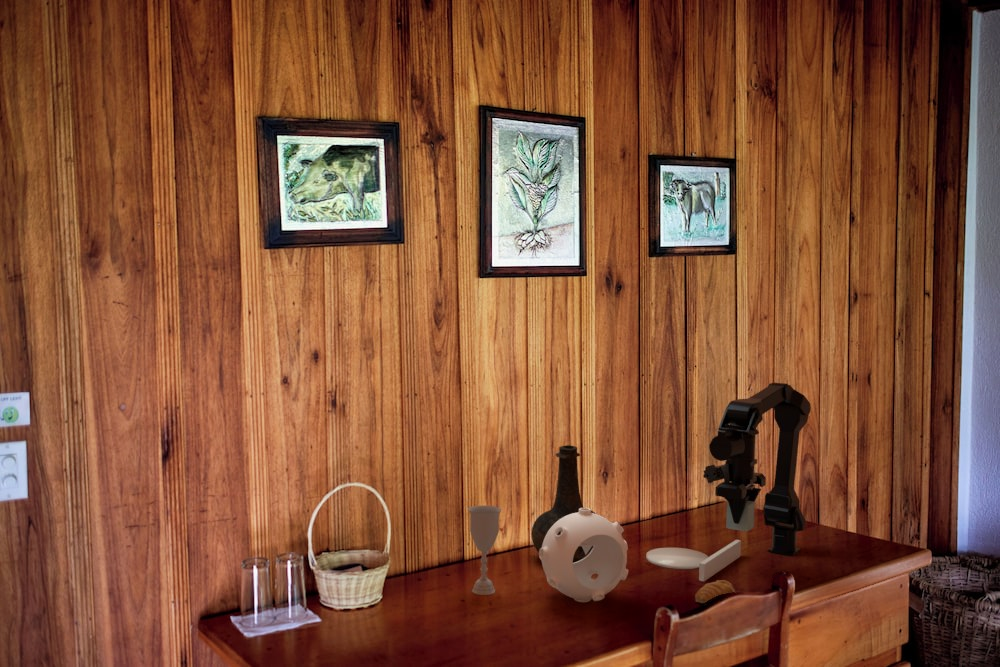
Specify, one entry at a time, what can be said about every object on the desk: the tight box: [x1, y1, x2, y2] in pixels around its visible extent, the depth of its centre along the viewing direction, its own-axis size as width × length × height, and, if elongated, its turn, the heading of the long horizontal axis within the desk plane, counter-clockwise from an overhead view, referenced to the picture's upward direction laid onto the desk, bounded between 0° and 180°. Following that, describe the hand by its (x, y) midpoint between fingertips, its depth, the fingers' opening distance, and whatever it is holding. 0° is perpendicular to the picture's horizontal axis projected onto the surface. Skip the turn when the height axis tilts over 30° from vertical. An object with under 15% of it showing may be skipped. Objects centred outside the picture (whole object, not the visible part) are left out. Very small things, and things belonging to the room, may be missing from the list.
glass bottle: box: [531, 444, 597, 563], centre depth 226 cm, size 18×18×28 cm
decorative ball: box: [538, 507, 629, 603], centre depth 199 cm, size 20×17×20 cm
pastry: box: [694, 579, 736, 604], centre depth 201 cm, size 9×7×4 cm
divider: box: [698, 539, 742, 582], centre depth 223 cm, size 24×1×4 cm, turn 146°
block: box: [725, 501, 756, 532], centre depth 220 cm, size 5×5×6 cm
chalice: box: [467, 505, 502, 596], centre depth 204 cm, size 7×7×18 cm
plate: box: [645, 547, 709, 570], centre depth 229 cm, size 15×15×1 cm
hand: (740, 521), depth 220 cm, fingers closed on block, 5 cm apart
